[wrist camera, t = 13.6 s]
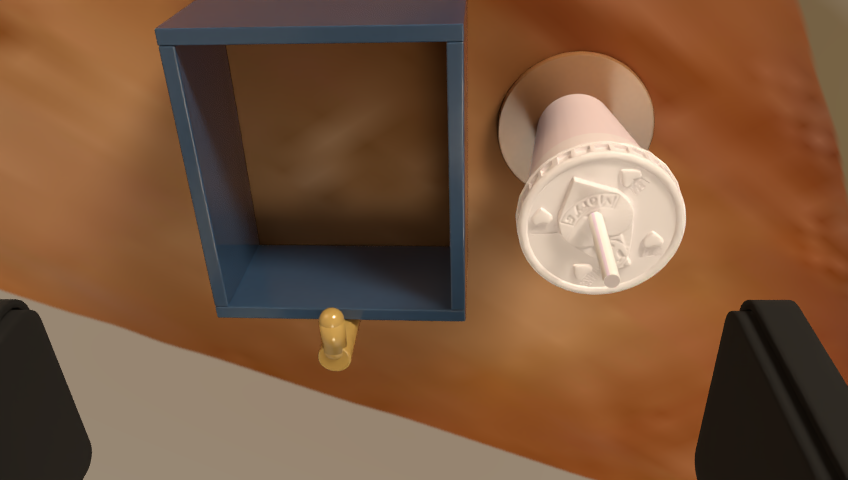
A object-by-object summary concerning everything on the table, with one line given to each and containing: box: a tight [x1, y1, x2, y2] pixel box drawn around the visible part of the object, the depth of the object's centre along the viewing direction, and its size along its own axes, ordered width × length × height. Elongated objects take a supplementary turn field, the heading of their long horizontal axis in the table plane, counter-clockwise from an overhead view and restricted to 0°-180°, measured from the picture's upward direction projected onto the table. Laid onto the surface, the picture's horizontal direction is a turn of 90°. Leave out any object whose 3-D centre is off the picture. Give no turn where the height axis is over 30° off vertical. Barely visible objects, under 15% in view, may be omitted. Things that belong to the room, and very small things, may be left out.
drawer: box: [155, 0, 468, 371], centre depth 35 cm, size 16×12×8 cm
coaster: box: [498, 51, 655, 184], centre depth 37 cm, size 8×8×1 cm
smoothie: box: [516, 94, 686, 294], centre depth 30 cm, size 6×6×14 cm
